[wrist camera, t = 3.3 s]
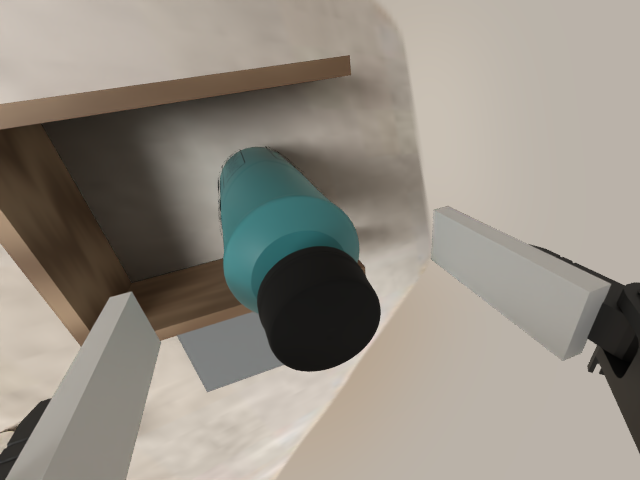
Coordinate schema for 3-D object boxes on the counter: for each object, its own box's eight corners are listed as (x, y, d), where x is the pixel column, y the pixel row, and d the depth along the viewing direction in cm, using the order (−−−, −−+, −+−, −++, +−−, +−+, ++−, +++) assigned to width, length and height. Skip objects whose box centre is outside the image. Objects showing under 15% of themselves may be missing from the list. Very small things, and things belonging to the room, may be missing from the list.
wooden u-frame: (14, 110, 19) (-98, 118, 12) (311, 67, 23) (349, 55, 17) (124, 294, 27) (93, 361, 20) (333, 237, 31) (365, 276, 24)
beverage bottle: (203, 160, 24) (163, 317, 7) (274, 128, 25) (399, 200, 8) (240, 224, 27) (275, 434, 10) (302, 194, 28) (432, 347, 11)
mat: (169, 317, 29) (168, 320, 29) (282, 283, 32) (283, 285, 31) (207, 389, 35) (207, 392, 35) (300, 355, 38) (301, 358, 37)
